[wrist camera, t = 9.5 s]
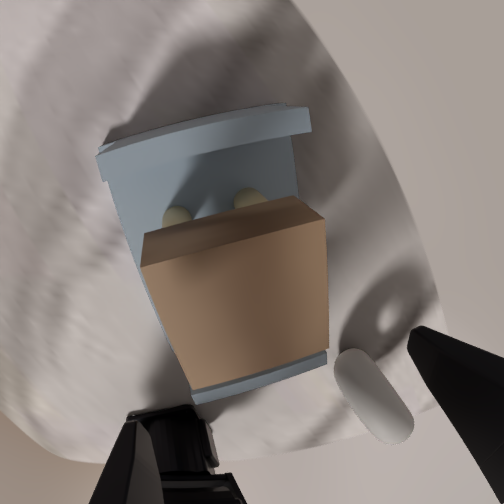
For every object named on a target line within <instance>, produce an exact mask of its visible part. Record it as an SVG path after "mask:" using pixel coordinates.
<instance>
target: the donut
mask: <svg viewBox="0 0 504 504" xmlns="http://www.w3.org/2000/svg"><path fill="white" fill-rule="evenodd" d="M334 376H335V379H336V382H337V384H338V386H339V388H340V390H341V392H342V394H343V395H344V397H345V399H346V400H347V402H348V403H349V405H350V407H351V408H352V409H353V411H354V412H355V414H356V415H357V417H358V418H359V419H360V421H361V422H362V423H363V424H364V426H365V427H366V428H367V429H368V430H369V432H370V433H371V434H372V435H373V436H374V437H375V438H376V439H378V440H379V441H381V442H383V443H385V444H390V445H396V444H400V443H402V442H404V441H405V440H406V439H407V438H409V437H410V435H411V433H412V431H413V429H414V419H413V416H412V414H411V412H410V411H409V409H408V408H407V406H406V405H405V403H404V402H403V401H402V399H401V398H400V396H399V395H398V394H397V392H396V391H395V389H394V388H393V387H392V385H391V384H390V383H389V381H388V380H387V378H386V377H385V376H384V374H383V373H382V372H381V370H380V369H379V368H378V366H377V365H376V364H375V363H374V361H373V360H372V359H371V357H370V356H369V355H368V354H367V353H366V352H365V351H362V350H360V349H355V348H352V349H347V350H345V351H344V352H342V353H341V354H340V355H339V356H338V357H337V359H336V361H335V364H334Z"/></svg>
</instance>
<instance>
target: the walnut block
mask: <svg viewBox="0 0 504 504" xmlns="http://www.w3.org/2000/svg"><path fill="white" fill-rule="evenodd" d="M140 269H141V272H142V274H143V277H144V280H145V282H146V285H147V288H148V290H149V293H150V295H151V298H152V300H153V303H154V305H155V308H156V310H157V312H158V315H159V317H160V320H161V322H162V324H163V327H164V329H165V331H166V334H167V336H168V338H169V341H170V343H171V345H172V347H173V349H174V352H175V354H176V356H177V358H178V360H179V363H180V365H181V367H182V369H183V371H184V373H185V375H186V377H187V379H188V381H189V383H190V386H191V388H192V390H196V389H200V388H204V387H208V386H212V385H215V384H219V383H223V382H226V381H230V380H234V379H237V378H241V377H244V376H248V375H251V374H254V373H258V372H261V371H264V370H267V369H270V368H273V367H277V366H280V365H283V364H286V363H289V362H292V361H295V360H298V359H300V358H303V357H306V356H309V355H312V354H315V353H317V352H320V351H323V350H326V349H328V348H329V302H328V270H327V248H326V230H325V219H324V218H323V217H322V216H320V215H319V214H318V213H316V212H315V211H314V210H313V209H311V208H310V207H309V206H307V205H306V204H305V203H303V202H302V201H301V200H299V199H298V198H296V197H295V196H294V195H292V196H288V197H283V198H279V199H275V200H270V201H266V202H262V203H258V204H254V205H250V206H245V207H241V208H237V209H233V210H229V211H225V212H221V213H217V214H213V215H210V216H206V217H202V218H198V219H194V220H190V221H187V222H183V223H179V224H176V225H172V226H168V227H165V228H161V229H157V230H154V231H150V232H147V233H144V238H143V246H142V254H141V263H140Z"/></svg>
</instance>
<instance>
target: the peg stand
mask: <svg viewBox="0 0 504 504" xmlns="http://www.w3.org/2000/svg"><path fill="white" fill-rule="evenodd" d="M307 132H312V130H311V123H310V115H309V108H308V107H300V106H286V103H276V104H270V105H263V106H257V107H251V108H245V109H240V110H235V111H229V112H224V113H219V114H215V115H210V116H205V117H201V118H196V119H192V120H188V121H184V122H180V123H176V124H172V125H168V126H164V127H160V128H157V129H153V130H150V131H146V132H143V133H139V134H136V135H132V136H129V137H126V138H123V139H120V140H116V141H113V142H110V143H107V144H104V145H102V146H100V147H98V149H99V154H98V155H96V156H95V157H96V160H97V164H98V167H99V171H100V174H101V178H102V181H103V182H105V181H108V184H109V188H110V191H111V194H112V197H113V200H114V204H115V207H116V210H117V213H118V216H119V219H120V222H121V225H122V228H123V231H124V233H125V236H126V239H127V242H128V245H129V247H130V250H131V253H132V256H133V258H134V261H135V264H136V266H137V269H138V271H139V274H140V277H141V279H142V282H143V284H144V287H145V289H146V292H147V294H148V297H149V299H150V301H151V304H152V306H153V308H154V311H155V313H156V315H157V318H158V320H159V322H160V325H161V327H162V329H163V331H164V334H165V336H166V338H167V340H168V342H169V345H170V347H171V349H172V351H173V352H174V349H173V347H172V345H171V343H170V341H169V338H168V336H167V334H166V331H165V329H164V327H163V324H162V322H161V320H160V317H159V315H158V312H157V310H156V308H155V305H154V303H153V300H152V298H151V295H150V293H149V290H148V288H147V285H146V282H145V280H144V277H143V274H142V272H141V269H140V263H141V254H142V246H143V238H144V233H147V232H150V231H154V230H157V229H161V228H165V227H168V226H172V225H176V224H179V223H183V222H187V221H190V220H194V219H198V218H202V217H206V216H210V215H213V214H217V213H221V212H225V211H229V210H233V209H237V208H241V207H245V206H250V205H254V204H258V203H262V202H266V201H270V200H275V199H279V198H283V197H288V196H292V195H294V196H295V197H296V198H298V199H299V193H298V185H297V177H296V169H295V161H294V154H293V147H292V139H291V135H295V134H301V133H307ZM326 364H327V352H326V351H325V350H323V351H320V352H317V353H315V354H312V355H309V356H306V357H303V358H300V359H298V360H295V361H292V362H289V363H286V364H283V365H280V366H277V367H273V368H270V369H267V370H264V371H261V372H258V373H254V374H251V375H248V376H244V377H241V378H237V379H234V380H230V381H226V382H223V383H219V384H215V385H212V386H208V387H204V388H200V389H196V390H192V388H191V386H190V383H189V387H190V393H191V396H192V398H193V400H194V402H195V404H196V405H199V404H203V403H207V402H211V401H214V400H218V399H222V398H225V397H229V396H233V395H236V394H240V393H243V392H246V391H250V390H253V389H256V388H260V387H263V386H266V385H269V384H272V383H275V382H278V381H281V380H284V379H287V378H290V377H293V376H296V375H299V374H301V373H304V372H307V371H310V370H312V369H315V368H318V367H320V366H323V365H326Z"/></svg>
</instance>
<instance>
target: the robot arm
mask: <svg viewBox="0 0 504 504" xmlns="http://www.w3.org/2000/svg"><path fill="white" fill-rule="evenodd" d="M407 350H408V353H409V355H410V356H411V358H412V360H413V362H414V364H415V365H416V367H417V369H418V371H419V373H420V375H421V377H422V378H423V380H424V382H425V384H426V386H427V387H428V389H429V390H430V392H431V393H432V395H433V396H434V397H435V399H436V400H437V402H438V403H439V405H440V406H441V408H442V409H443V411H444V412H445V414H446V415H447V417H448V418H449V420H450V421H451V423H452V424H453V426H454V427H455V429H456V431H457V432H458V433H459V435H460V437H461V438H462V440H463V442H464V443H465V445H466V446H467V448H468V449H469V451H470V453H471V454H472V456H473V457H474V459H475V461H476V462H477V464H478V466H479V467H480V469H481V471H482V473H483V474H484V476H485V478H486V479H487V481H488V483H489V484H490V486H491V488H492V489H493V491H494V493H495V495H496V497H497V498H498V500H499V502H500V503H501V504H503V503H504V358H503V357H500V356H498V355H495V354H492V353H490V352H488V351H485V350H483V349H480V348H477V347H475V346H472V345H470V344H467V343H465V342H462V341H460V340H457V339H455V338H452V337H450V336H447V335H445V334H442V333H440V332H437V331H435V330H432V329H430V328H427V327H425V326H418V327H416V328H414V329H412V330H411V332H410V335H409V340H408V344H407ZM218 466H219V460H218V456H217V452H216V448H215V444H214V440H213V435H212V432H211V430H210V428H209V426H208V425H207V423H206V421H205V420H204V419H200V417H199V415H198V414H197V412H196V410H195V408H194V407H193V406H192V405H184V406H180V407H176V408H171V409H167V410H162V411H157V412H152V413H147V414H142V415H136V416H131V417H127V418H126V422H125V423H124V425H123V427H122V429H121V431H120V434H119V436H118V438H117V440H116V442H115V445H114V447H113V449H112V451H111V453H110V456H109V458H108V460H107V462H106V465H105V467H104V469H103V472H102V474H101V476H100V478H99V481H98V483H97V486H96V488H95V490H94V492H93V495H92V497H91V499H90V502H89V504H247V503H246V501H245V499H244V497H243V495H242V493H241V491H240V489H239V487H238V485H237V483H236V481H235V479H234V477H233V475H232V473H225V474H215V470H214V468H215V467H218Z"/></svg>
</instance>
